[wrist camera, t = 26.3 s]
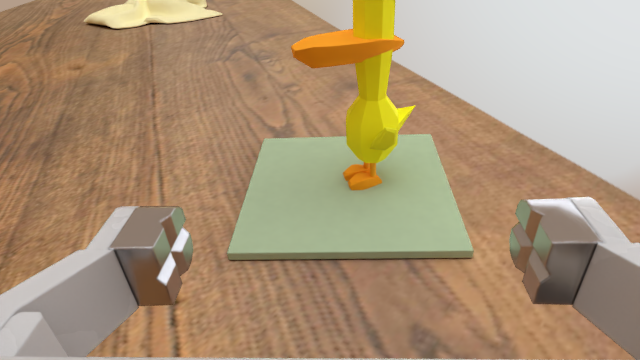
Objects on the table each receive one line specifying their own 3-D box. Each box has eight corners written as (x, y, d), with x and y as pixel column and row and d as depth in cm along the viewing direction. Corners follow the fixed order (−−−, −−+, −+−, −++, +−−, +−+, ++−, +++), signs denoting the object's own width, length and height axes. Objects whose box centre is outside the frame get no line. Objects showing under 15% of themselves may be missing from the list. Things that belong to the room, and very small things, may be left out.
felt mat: (430, 139, 30) (430, 133, 30) (472, 258, 20) (474, 250, 20) (264, 144, 31) (264, 138, 31) (228, 260, 21) (226, 253, 21)
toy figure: (313, 209, 24) (294, -30, 17) (298, 176, 26) (277, -39, 20) (423, 184, 25) (446, -45, 18) (398, 156, 28) (409, -52, 21)
